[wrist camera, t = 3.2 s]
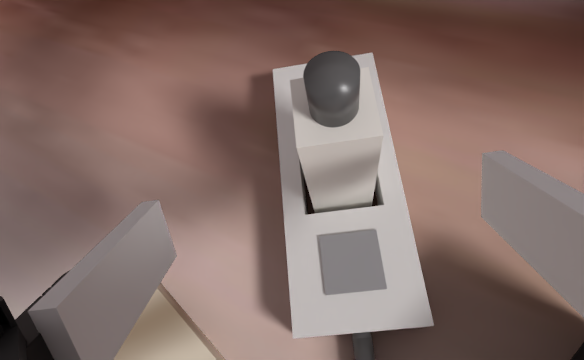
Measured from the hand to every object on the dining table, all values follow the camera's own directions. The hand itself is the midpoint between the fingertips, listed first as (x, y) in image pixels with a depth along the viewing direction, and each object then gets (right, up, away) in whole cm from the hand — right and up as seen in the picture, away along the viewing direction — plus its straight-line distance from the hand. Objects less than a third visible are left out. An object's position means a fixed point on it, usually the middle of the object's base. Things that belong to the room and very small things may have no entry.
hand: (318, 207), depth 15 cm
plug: (+3, 0, +13) cm, 13 cm away
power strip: (+3, -1, +12) cm, 12 cm away
